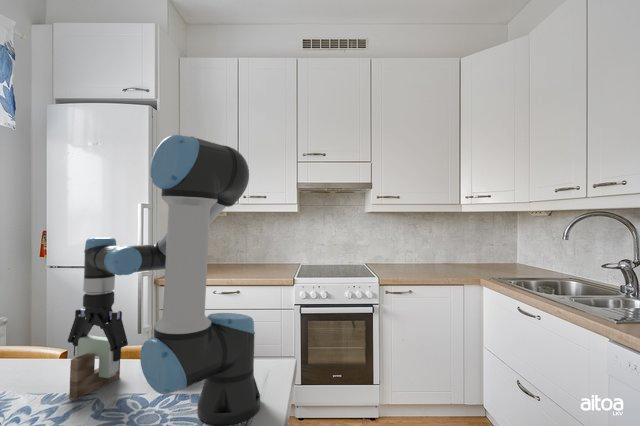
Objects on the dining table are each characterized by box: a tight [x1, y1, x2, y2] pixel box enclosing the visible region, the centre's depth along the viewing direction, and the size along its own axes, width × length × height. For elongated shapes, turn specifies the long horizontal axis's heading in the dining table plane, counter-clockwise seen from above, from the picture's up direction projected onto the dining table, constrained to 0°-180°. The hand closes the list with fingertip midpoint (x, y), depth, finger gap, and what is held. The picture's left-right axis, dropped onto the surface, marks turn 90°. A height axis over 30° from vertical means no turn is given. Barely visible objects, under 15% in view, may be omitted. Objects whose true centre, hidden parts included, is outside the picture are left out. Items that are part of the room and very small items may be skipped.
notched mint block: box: [78, 334, 117, 378], centre depth 98 cm, size 11×2×10 cm, turn 76°
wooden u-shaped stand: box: [68, 353, 121, 400], centre depth 98 cm, size 14×2×10 cm, turn 166°
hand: (96, 370), depth 98 cm, fingers closed on notched mint block, 11 cm apart
